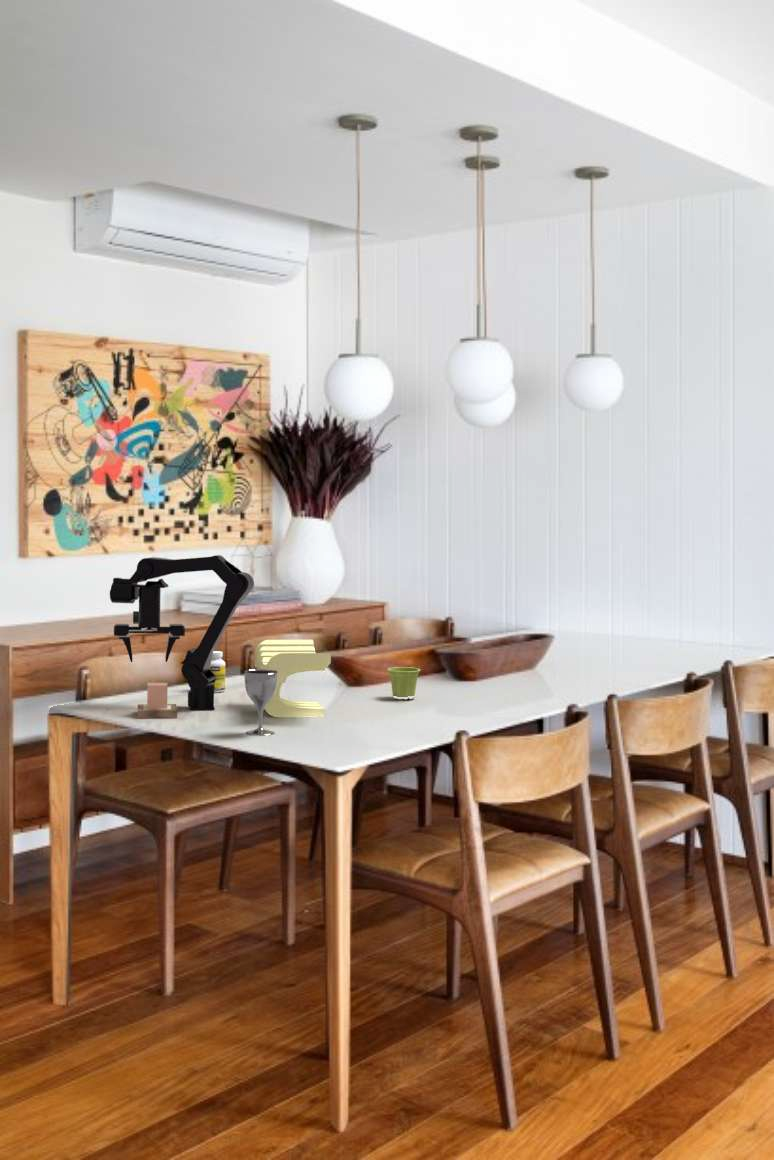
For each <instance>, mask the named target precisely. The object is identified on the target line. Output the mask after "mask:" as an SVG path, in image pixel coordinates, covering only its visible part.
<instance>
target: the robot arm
mask: <svg viewBox="0 0 774 1160" xmlns="http://www.w3.org/2000/svg"><path fill="white" fill-rule="evenodd" d="M204 571H213V572H214V573H215V574H216V575H217V576H218V577H219V579H220V580H221V581H222V582H223V583H224V584H225V588H224V591H223V596H222V597H223V598H222V601H221V603H220V605H219V607H218V608H217V611H216V612H215V614H214V617H213V619H212V620H211V622H210V623H209V626H208V628H207V630H206V632H205V634H204V635H203V637H202V639H201V641H200V643H199V645H198V646H197V648H196V647H192V648H190V649H189V650H187V652H186V654H185V658H184V660H183V661H181V662H180V664H181V669H180V671H181V674H182V676H183V678H184V679H185V680H186V682H187V683H188V687H189V689H188V691H187V706H188V708H189V710H190V711H192V710H193V711H197V710H198V711H199V710H200V711H206V710H207V711H209V710H211V711H212V710H215V693H214V685H213V684H214V683H215V681H216V678H217V676H216V675H215V674H214V673H213V672H212V671H211V670H210V669H209V667H210V664H211V661H212V655H213V651H215V649H216V647H217V645H218V643H219V641H220V640H221V638H222V635H223V634H224V632H225V630H226V628H227V626H228V625H229V623H230V621H231V619H232V617H233V615H234V613H235V611H236V610H237V608H238V606H240V604H241V603H242V602H243V601H244V600H245V599H246V598H247V596H248V595H249V594H250V593H251V591H252V590H253V589H254V586H255V582H254V581H255V580H254V578H253V577H252V575H251V574H250V573H247V572H243V571H241V570H240V569H239V567H237V566H235V565H233V564H232V563H231V562H229V561H228V560H227V559H226V558H225V557H224V556H223V555H221V554H217V555H216V554H215V555H213V556H203V557H189V558H178V559H177V558H176V559H172V558H166V557H155V556H154V557H153V556H152V557H144V558H142V559H140V560H139V561H138V563H137V564H136V570H135V571H134V573H133V574H132V575H131V577H130V578H122V577H114V578H113V579H112V584H111V585H110V590H109V600H110V602H111V603H113V604H134V603H135V601H137V600H138V610H135V611H134V610H133V612H132V624H133V625H138V626H130V624H129V623H115V624H114V625H113V636H114V637H118V640H122V641H123V643H124V646H125V648H126V650H127V654H128V657H129V660H130V663H133V651H132V643H131V636H130V635H131V634H168V635H167V643H166V651H165V657H164V658H165V659H164V660H165V663H168V660H169V658H170V655H171V652H172V648H173V647H174V644H175V643H176V641H177V640H180V639H181V637H185V634H186V628H185V625H184V624H183V623H169V625H168V626H161V594H162V593H161V589H164V588H165V589H166V588H168V587H169V584H168V583H166V582H165V580H164V579H163V578H160V577H166V576H168V575H171V574H178V573H179V574H180V573H192V572H193V573H194V572H204ZM158 578H159V579H158ZM152 579H158V580H157V581H155V580H153V581H152ZM150 580H151V581H150ZM142 582H145V584H140V583H142Z"/></svg>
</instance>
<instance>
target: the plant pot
mask: <svg viewBox="0 0 774 1160" xmlns="http://www.w3.org/2000/svg"><path fill="white" fill-rule="evenodd" d="M387 671H388V673H389V677H390V683H391V693H392V697H393V696H397V697H408V696H414V695H415V696H416V689H417V682H418V677H419V673H420V672H421V669H420V668H417V667H411V666H410V667H408V666H407V667H406V666H405V667H404V666H399V667H389V668H387Z"/></svg>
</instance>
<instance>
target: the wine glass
mask: <svg viewBox="0 0 774 1160" xmlns="http://www.w3.org/2000/svg"><path fill="white" fill-rule="evenodd" d="M277 678H278V672H277V671H275V670H268V669H257V668H255V669H247V670H244V686H245V687H244V688H245V692H246V695H247V696H248V698H249V699H250V700H251V701H252V702H253V704H254V705H255V706H256V709H257V713H258V727H257V728H255V729H251V730H247V731H246V732H245V734H246V735H249V736H258V735H259V736H262V737H263V736H271V735H274V734H276V732H275V731H274V730H269V729H265V728H264V727H263V716H264V715H263V714H264V710H265V709H264V707H265V706H266V704H267V703H268V702H269V700H270V699H271V698H272V697H273V696H274V694H275V691H276V687H277Z"/></svg>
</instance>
